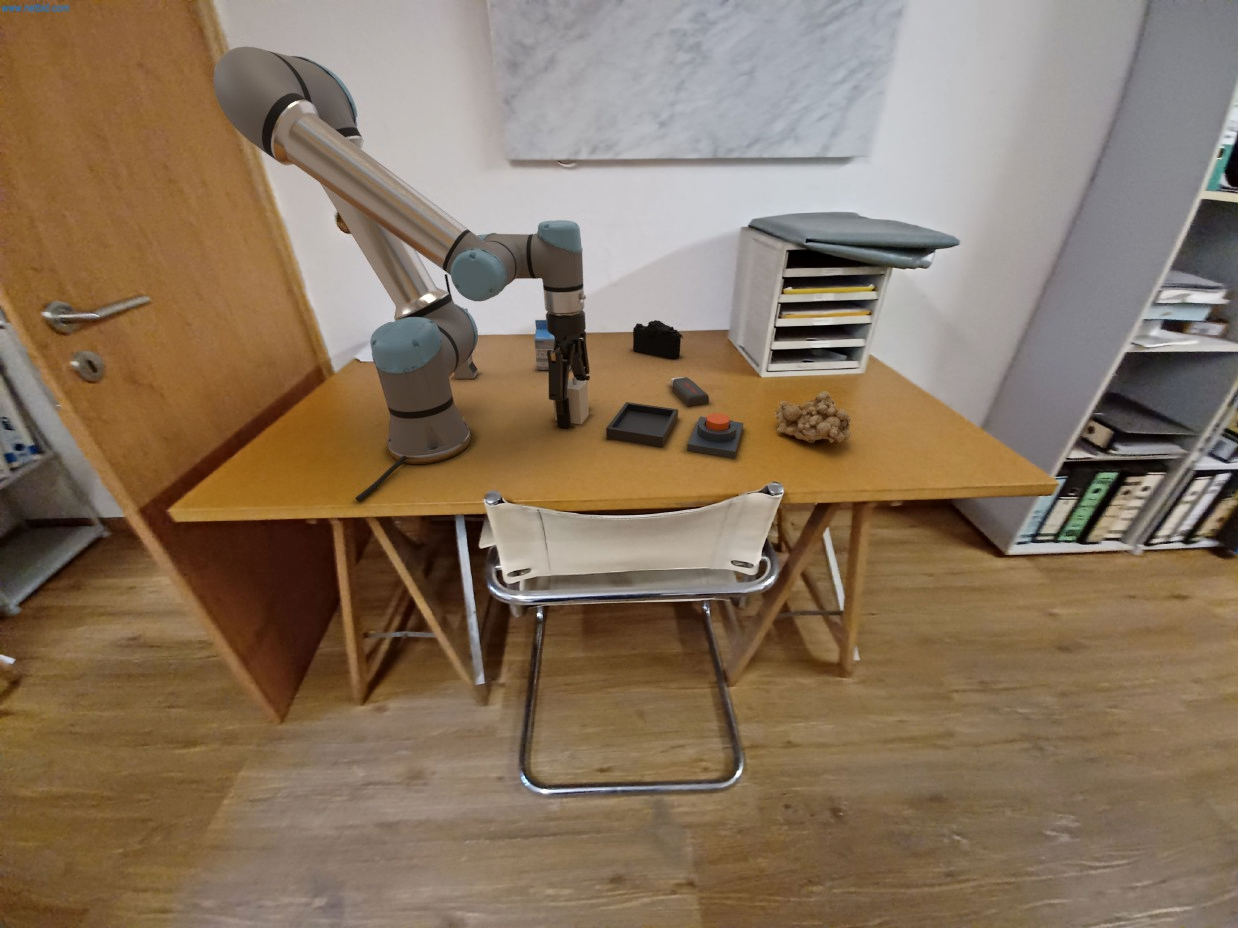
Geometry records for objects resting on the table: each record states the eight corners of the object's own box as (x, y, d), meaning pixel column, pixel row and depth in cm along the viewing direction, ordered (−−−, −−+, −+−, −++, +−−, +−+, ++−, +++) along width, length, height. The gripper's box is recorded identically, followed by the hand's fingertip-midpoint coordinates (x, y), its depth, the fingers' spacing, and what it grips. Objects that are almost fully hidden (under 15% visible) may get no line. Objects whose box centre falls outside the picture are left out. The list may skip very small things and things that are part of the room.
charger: (581, 424, 105) (578, 383, 100) (555, 420, 107) (551, 379, 101) (588, 415, 108) (586, 375, 103) (563, 411, 110) (560, 371, 105)
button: (726, 433, 95) (727, 425, 94) (703, 429, 96) (704, 421, 95) (730, 423, 98) (731, 415, 97) (708, 419, 99) (708, 411, 98)
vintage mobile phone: (474, 379, 126) (456, 275, 112) (455, 379, 126) (434, 276, 113) (478, 373, 129) (461, 272, 116) (459, 373, 129) (440, 272, 116)
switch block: (734, 459, 93) (736, 443, 91) (686, 451, 95) (687, 435, 93) (742, 430, 102) (744, 414, 100) (699, 423, 105) (700, 408, 103)
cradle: (662, 448, 96) (663, 437, 95) (606, 439, 100) (606, 428, 98) (677, 419, 106) (678, 409, 105) (626, 412, 110) (626, 401, 108)
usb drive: (687, 407, 111) (688, 396, 110) (666, 386, 121) (667, 376, 119) (708, 404, 112) (709, 393, 111) (686, 384, 122) (687, 373, 121)
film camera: (691, 350, 142) (693, 319, 137) (675, 361, 135) (677, 328, 130) (644, 341, 149) (645, 311, 144) (627, 351, 142) (628, 319, 137)
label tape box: (536, 370, 130) (531, 324, 124) (539, 365, 134) (534, 319, 127) (570, 371, 130) (567, 324, 123) (572, 365, 133) (569, 319, 127)
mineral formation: (825, 417, 106) (869, 448, 93) (766, 433, 105) (802, 466, 92) (826, 382, 102) (872, 410, 89) (765, 398, 101) (802, 428, 88)
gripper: (560, 328, 86) (568, 443, 98) (602, 298, 102) (605, 399, 115) (521, 325, 88) (534, 437, 100) (569, 296, 104) (575, 395, 117)
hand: (572, 417), depth 107 cm, fingers open, 8 cm apart
